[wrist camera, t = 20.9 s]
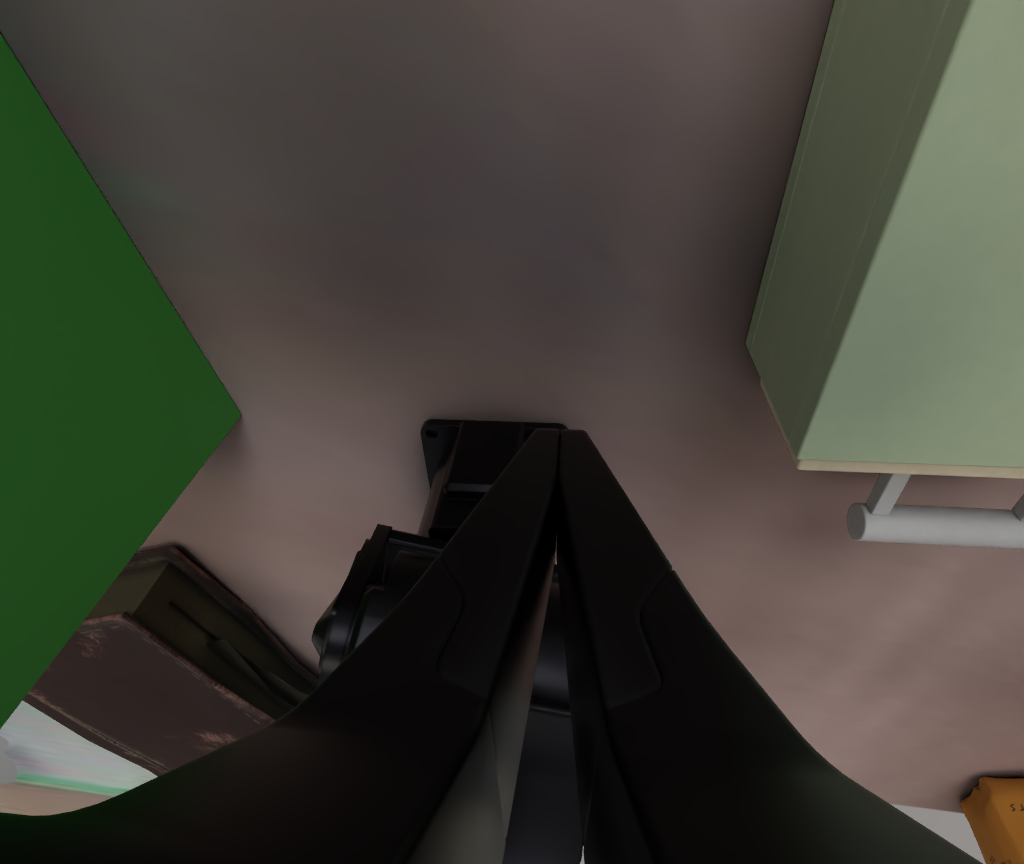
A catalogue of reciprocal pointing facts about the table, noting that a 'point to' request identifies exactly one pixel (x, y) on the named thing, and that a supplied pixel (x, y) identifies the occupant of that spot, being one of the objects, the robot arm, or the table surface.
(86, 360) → the hardback book
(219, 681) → the diary
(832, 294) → the cabinet
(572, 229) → the table surface
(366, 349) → the table surface
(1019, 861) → the coffee package
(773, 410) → the drawer
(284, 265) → the table surface
